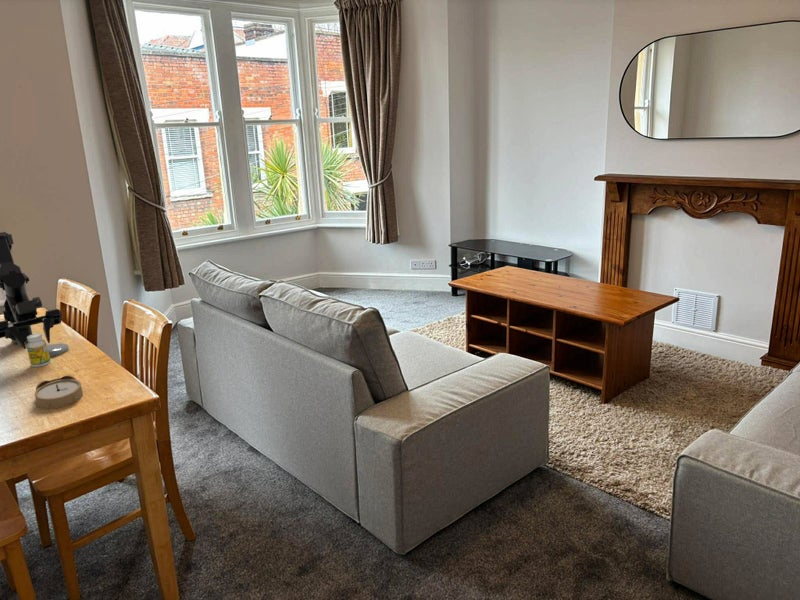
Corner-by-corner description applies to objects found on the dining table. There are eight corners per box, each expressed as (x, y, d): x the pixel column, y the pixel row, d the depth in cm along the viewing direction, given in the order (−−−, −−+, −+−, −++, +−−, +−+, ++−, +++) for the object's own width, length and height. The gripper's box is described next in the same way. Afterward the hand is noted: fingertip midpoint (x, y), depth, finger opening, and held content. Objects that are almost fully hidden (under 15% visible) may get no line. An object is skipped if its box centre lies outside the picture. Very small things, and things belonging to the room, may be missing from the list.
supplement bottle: (53, 360, 195) (46, 331, 192) (46, 366, 190) (39, 337, 187) (35, 361, 194) (28, 333, 191) (28, 368, 189) (20, 339, 186)
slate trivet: (27, 353, 202) (26, 350, 202) (63, 343, 209) (62, 341, 209) (36, 361, 194) (35, 358, 194) (73, 351, 201) (72, 348, 201)
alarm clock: (36, 404, 158) (30, 376, 169) (40, 419, 160) (33, 391, 171) (84, 391, 163) (75, 366, 174) (87, 407, 166) (78, 380, 177)
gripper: (-15, 297, 182) (2, 340, 177) (53, 284, 194) (71, 324, 189) (-14, 317, 190) (3, 359, 185) (52, 303, 202) (69, 341, 197)
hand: (37, 345), depth 189 cm, fingers open, 6 cm apart
